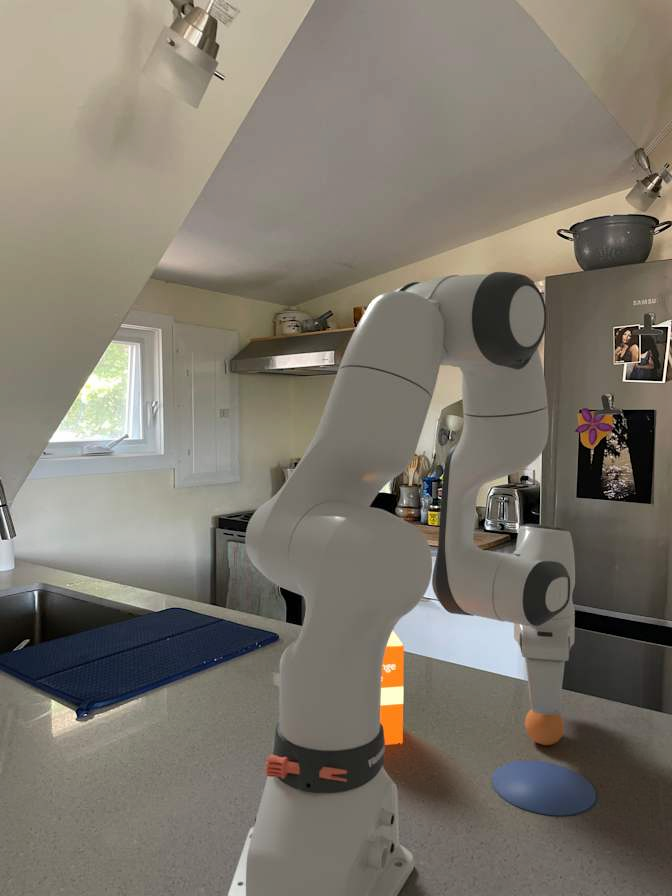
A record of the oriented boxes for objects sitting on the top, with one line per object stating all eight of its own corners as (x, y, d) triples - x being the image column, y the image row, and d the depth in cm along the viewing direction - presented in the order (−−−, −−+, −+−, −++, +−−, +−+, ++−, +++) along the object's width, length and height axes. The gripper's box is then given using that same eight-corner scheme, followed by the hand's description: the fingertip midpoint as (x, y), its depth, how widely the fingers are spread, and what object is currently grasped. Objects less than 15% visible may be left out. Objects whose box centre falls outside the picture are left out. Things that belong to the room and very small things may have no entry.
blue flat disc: (600, 823, 83) (600, 821, 83) (489, 805, 86) (489, 804, 86) (591, 769, 95) (591, 768, 95) (494, 756, 99) (494, 755, 99)
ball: (561, 747, 104) (562, 750, 99) (523, 738, 106) (522, 741, 101) (565, 708, 105) (566, 710, 100) (527, 700, 107) (527, 702, 102)
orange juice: (352, 748, 101) (353, 612, 100) (339, 721, 110) (340, 596, 109) (404, 743, 103) (405, 609, 102) (387, 717, 111) (388, 594, 110)
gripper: (522, 607, 117) (522, 688, 118) (521, 650, 97) (521, 746, 98) (562, 610, 115) (561, 691, 116) (569, 654, 95) (568, 751, 96)
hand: (542, 717), depth 107 cm, fingers closed
